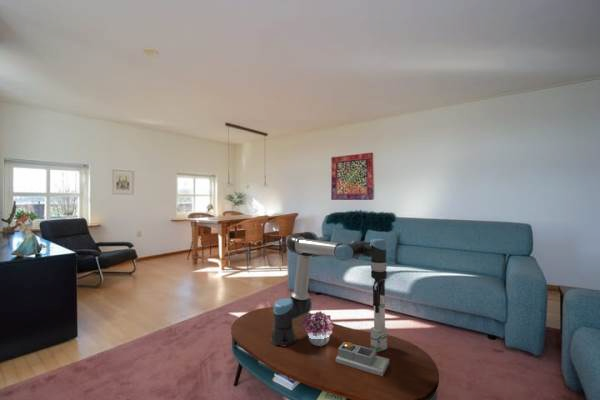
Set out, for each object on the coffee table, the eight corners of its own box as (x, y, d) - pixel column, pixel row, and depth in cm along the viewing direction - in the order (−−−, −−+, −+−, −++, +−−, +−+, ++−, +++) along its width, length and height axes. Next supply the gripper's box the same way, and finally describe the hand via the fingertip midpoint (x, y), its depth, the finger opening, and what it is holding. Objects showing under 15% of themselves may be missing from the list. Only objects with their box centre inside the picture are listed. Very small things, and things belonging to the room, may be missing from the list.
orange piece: (342, 355, 149) (342, 345, 150) (345, 350, 154) (345, 341, 154) (351, 357, 147) (351, 347, 147) (354, 353, 151) (354, 343, 151)
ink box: (377, 353, 156) (376, 331, 156) (370, 349, 160) (370, 328, 160) (387, 348, 160) (387, 327, 160) (380, 344, 164) (380, 324, 165)
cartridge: (372, 329, 141) (372, 296, 141) (375, 325, 145) (375, 293, 146) (383, 331, 138) (383, 298, 138) (386, 327, 143) (385, 295, 143)
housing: (335, 362, 147) (335, 350, 147) (345, 350, 158) (345, 339, 158) (382, 376, 135) (382, 363, 135) (389, 362, 146) (389, 351, 146)
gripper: (381, 275, 132) (382, 325, 132) (390, 267, 148) (391, 312, 148) (365, 273, 136) (366, 321, 136) (376, 265, 152) (377, 309, 152)
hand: (379, 316), depth 142 cm, fingers closed on cartridge, 5 cm apart
